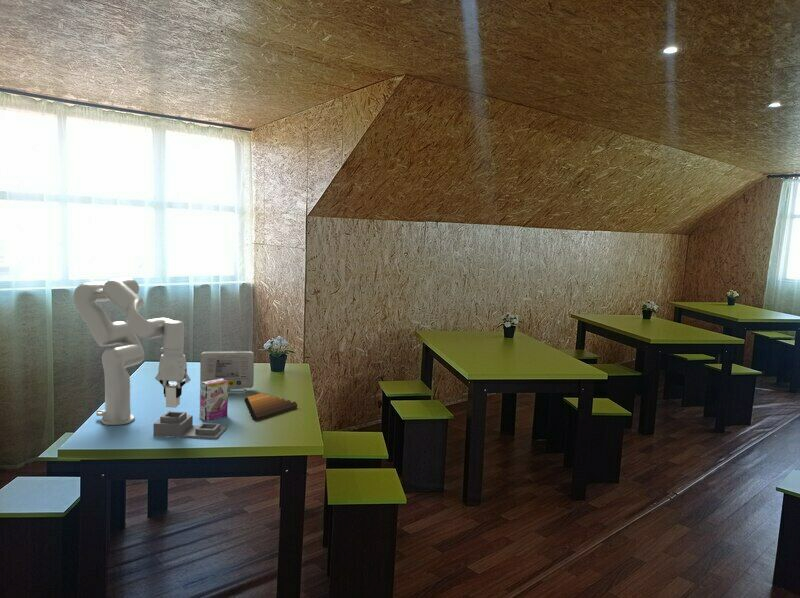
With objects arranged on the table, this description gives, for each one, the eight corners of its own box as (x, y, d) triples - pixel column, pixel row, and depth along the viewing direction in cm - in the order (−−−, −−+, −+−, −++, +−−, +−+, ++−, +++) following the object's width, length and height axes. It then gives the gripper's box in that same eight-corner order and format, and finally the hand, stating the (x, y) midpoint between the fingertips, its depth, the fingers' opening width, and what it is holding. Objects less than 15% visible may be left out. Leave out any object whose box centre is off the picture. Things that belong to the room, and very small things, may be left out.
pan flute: (257, 422, 253) (297, 409, 274) (257, 414, 253) (297, 402, 274) (218, 410, 267) (260, 398, 288) (218, 403, 267) (260, 392, 287)
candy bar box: (205, 422, 249) (206, 384, 247) (199, 419, 252) (199, 382, 250) (228, 416, 258) (228, 379, 256) (221, 413, 261) (222, 377, 259)
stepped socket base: (153, 435, 230) (153, 418, 230) (166, 425, 242) (166, 409, 242) (216, 439, 230) (216, 421, 229) (226, 428, 242) (226, 412, 241)
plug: (166, 407, 234) (165, 385, 232) (170, 403, 238) (169, 382, 236) (175, 407, 234) (175, 386, 232) (179, 403, 238) (179, 382, 236)
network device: (253, 388, 303) (253, 350, 301) (253, 393, 295) (254, 354, 293) (201, 389, 297) (201, 350, 294) (199, 394, 288) (200, 354, 286)
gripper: (148, 352, 229) (147, 397, 231) (190, 355, 229) (189, 400, 231) (156, 348, 236) (155, 392, 239) (197, 351, 236) (196, 395, 238)
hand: (172, 396), depth 235 cm, fingers closed on plug, 4 cm apart
